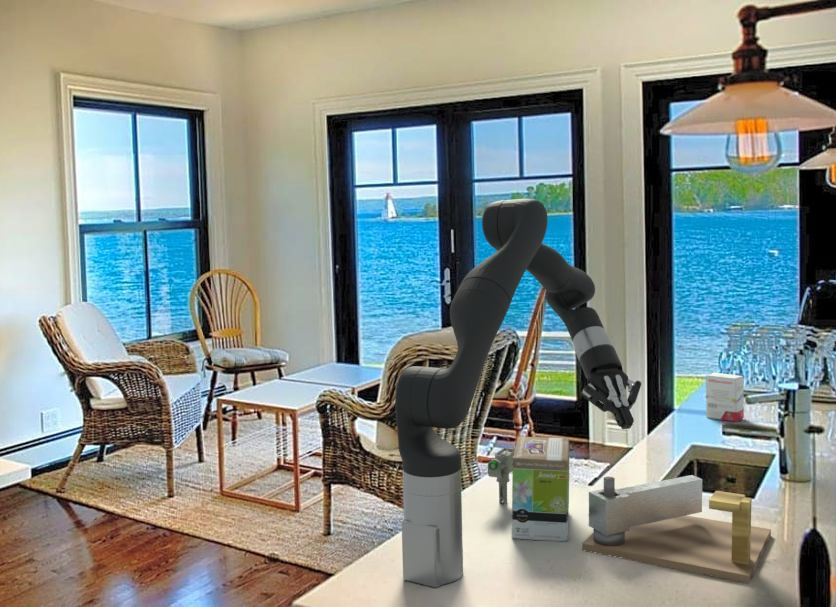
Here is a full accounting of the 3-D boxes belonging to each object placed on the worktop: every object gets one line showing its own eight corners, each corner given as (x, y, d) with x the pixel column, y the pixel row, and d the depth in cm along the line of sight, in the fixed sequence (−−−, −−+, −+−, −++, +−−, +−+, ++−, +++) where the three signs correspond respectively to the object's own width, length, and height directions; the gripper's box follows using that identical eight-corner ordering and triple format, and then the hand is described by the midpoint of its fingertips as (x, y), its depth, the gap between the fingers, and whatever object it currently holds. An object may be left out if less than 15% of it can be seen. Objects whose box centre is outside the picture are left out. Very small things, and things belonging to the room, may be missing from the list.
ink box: (744, 419, 224) (745, 375, 223) (736, 422, 221) (736, 378, 219) (713, 414, 230) (714, 371, 229) (704, 417, 227) (705, 374, 226)
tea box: (569, 542, 145) (569, 459, 143) (510, 540, 147) (510, 457, 145) (569, 511, 160) (569, 435, 158) (516, 509, 161) (515, 434, 160)
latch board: (748, 583, 128) (750, 507, 126) (582, 550, 141) (581, 481, 140) (770, 535, 145) (772, 468, 144) (620, 510, 159) (621, 449, 158)
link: (606, 535, 139) (606, 500, 138) (588, 525, 143) (588, 491, 143) (706, 514, 148) (706, 480, 147) (687, 505, 152) (687, 473, 151)
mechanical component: (486, 510, 161) (485, 460, 160) (505, 494, 170) (505, 446, 169) (500, 513, 160) (499, 461, 158) (519, 496, 169) (519, 447, 167)
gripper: (573, 345, 167) (604, 419, 156) (632, 340, 170) (666, 413, 160) (561, 367, 172) (590, 440, 162) (618, 362, 176) (650, 433, 166)
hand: (627, 426), depth 161 cm, fingers closed
